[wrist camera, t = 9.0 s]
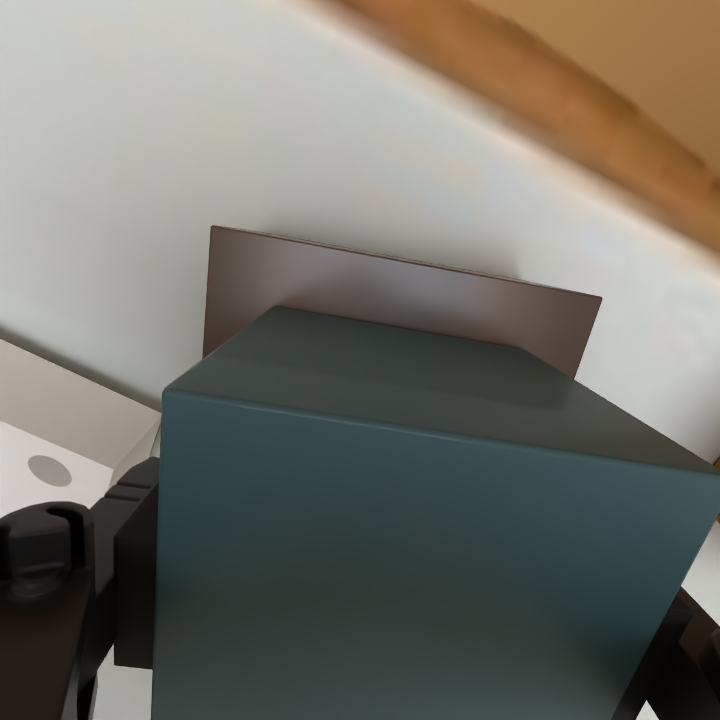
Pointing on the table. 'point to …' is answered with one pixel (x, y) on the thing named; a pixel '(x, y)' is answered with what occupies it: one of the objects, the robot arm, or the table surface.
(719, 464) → the disposable coffee cup
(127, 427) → the bracket
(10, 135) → the table surface
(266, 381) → the slate-teal block
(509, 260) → the table surface
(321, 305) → the mauve-gray square block
